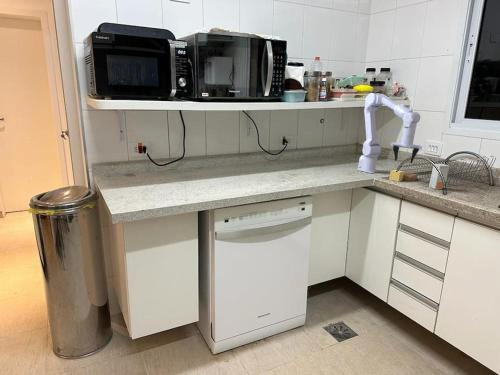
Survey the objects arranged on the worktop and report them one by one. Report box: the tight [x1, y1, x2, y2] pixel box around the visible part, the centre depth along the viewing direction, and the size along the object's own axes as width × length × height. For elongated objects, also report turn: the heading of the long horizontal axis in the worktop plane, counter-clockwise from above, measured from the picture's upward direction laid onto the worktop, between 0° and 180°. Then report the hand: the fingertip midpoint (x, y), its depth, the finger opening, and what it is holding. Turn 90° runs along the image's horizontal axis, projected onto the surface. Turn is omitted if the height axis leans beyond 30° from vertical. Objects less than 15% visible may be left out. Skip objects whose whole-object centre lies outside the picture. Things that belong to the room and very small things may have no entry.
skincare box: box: [428, 163, 450, 190], centre depth 172 cm, size 6×4×12 cm
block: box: [388, 169, 405, 182], centre depth 185 cm, size 5×5×5 cm
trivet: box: [402, 171, 419, 182], centre depth 190 cm, size 9×9×2 cm
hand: (403, 161), depth 183 cm, fingers open, 7 cm apart
